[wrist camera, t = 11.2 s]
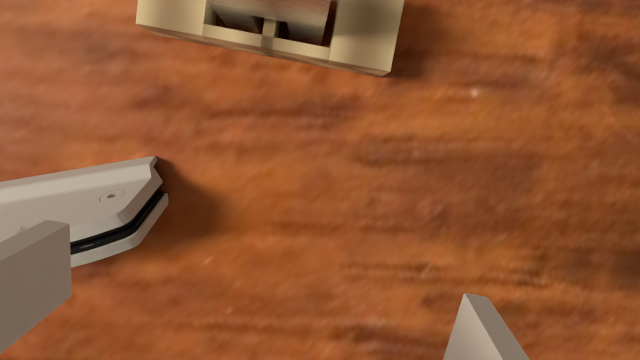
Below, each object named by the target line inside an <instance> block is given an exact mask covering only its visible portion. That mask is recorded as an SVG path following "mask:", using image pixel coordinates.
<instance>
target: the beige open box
mask: <svg viewBox="0 0 640 360" xmlns="http://www.w3.org/2000/svg"><path fill="white" fill-rule="evenodd" d="M331 2H335V3H337V7H336V12H335V18H334V24H333V30H332V36H331V42H330V47H329V48H327V47H322V46H317V45H311V44H306V43H301V42H296V41H291V40H286V39H280V38H278V37H279V31H280V24H281V21H277V20H272V19H267V18H265V19H264V26H263V33H262V35H260V34H254V33H249V32H244V31H239V30H234V29H228V28H223V27H218V26H216V20H217V13H216V12H215V11H214V9H213V8H212V7H211V6H210V4H209V3H208V2H207V0H138V6H137V16H136V24H138V25H140V26H141V27H143V28H145V29H146V30H148V31H150V32H151V33H153V34H155V35H159V36H165V37H170V38H175V39H180V40H186V41H191V42H196V43H202V44H207V45H212V46H218V47H223V48H228V49H233V50H239V51H244V52H249V53H255V54H260V55H265V56H271V57H276V58H281V59H286V60H292V61H297V62H302V63H308V64H313V65H318V66H324V67H329V68H334V69H339V70H345V71H350V72H355V73H361V74H366V75H371V76H377V77H382V76H384V75H386V74H387V73H389V72H390V71H391V66H392V60H393V55H394V50H395V45H396V40H397V35H398V30H399V25H400V20H401V15H402V10H403V5H404V0H331Z"/></svg>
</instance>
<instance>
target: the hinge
mask: <svg viewBox="0 0 640 360" xmlns="http://www.w3.org/2000/svg"><path fill="white" fill-rule="evenodd" d="M156 162H157V158H156V156H150V157H144V158H139V159H133V160H127V161H121V162H115V163H109V164H103V165H98V166H92V167H86V168H80V169H74V170H68V171H62V172H57V173H51V174H45V175H39V176H33V177H27V178H21V179H15V180H10V181H4V182H0V242H2V241H4V240H6V239H8V238H10V237H12V236H14V235H16V234H18V233H20V232H22V231H24V230H26V229H28V228H31V227H33V226H35V225H37V224H39V223H41V222H43V221H45V220H51V221H57V222H63V223H69V224H70V256H71V267H75V266H79V265H83V264H87V263H90V262H94V261H97V260H100V259H103V258H106V257H109V256H112V255H115V254H118V253H121V252H123V251H126V250H129V249H132V248H134V247H135V246H137V245H138V244H140V243H141V242H142V240H143V239H144V237H145V236H146V235H147V233H148V232H149V230H150V229H151V228H152V226H153V225H154V223H155V222H156V221H157V219H158V218H159V216H160V215H161V214H162V212H163V211H164V209H165V208H166V207H167V205H168V203H169V199H168V193H164V194H163V192H162V191H161V192H157V191H158V190H159V189H160V188H161V187H160V185H161V184H162V182H163V181H162V179H161V178H160V176H159V175H158V173H157V172H156V170H155V169H154V167H153V166H154V165H155V163H156Z"/></svg>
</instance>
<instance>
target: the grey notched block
mask: <svg viewBox="0 0 640 360" xmlns="http://www.w3.org/2000/svg"><path fill="white" fill-rule="evenodd" d="M207 2H208V3H209V4H210V6H211V7H212V8H213V9H214V11H215V12H216V13H217V14H218V16H219V17H220V18H221V19H222V21H223V22H224V23H225V25H226V26H227V27H229V28H234V29H239V30H244V31H249V32H254V33H259V30H260V23H261V17H262V18H267V19H272V20H277V21H282V22H287V23H288V30H289V36H290V39H291V40H296V41H301V42H306V43H311V44H316V45H321V42H322V37H323V33H324V28H325V24H326V20H327V15H328V11H329V6H330V2H331V0H207Z"/></svg>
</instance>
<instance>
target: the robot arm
mask: <svg viewBox="0 0 640 360" xmlns="http://www.w3.org/2000/svg"><path fill="white" fill-rule="evenodd" d="M71 296H72V291H71V256H70V224H69V223H63V222H57V221H51V220H45V221H43V222H41V223H39V224H37V225H35V226H33V227H31V228H28V229H26V230H24V231H22V232H20V233H18V234H16V235H14V236H12V237H10V238H8V239H6V240H4V241H2V242H0V354H1V353H2V352H3V351H5V350H6V349H7V348H8V347H10V346H11V345H12V344H13V343H14V342H16V341H17V340H18V339H19V338H21V337H22V336H23V335H24V334H25V333H27V332H28V331H29V330H30V329H32V328H33V327H34V326H35V325H37V324H38V323H39V322H40V321H41V320H43V319H44V318H45V317H46V316H48V315H49V314H50V313H51V312H52V311H54V310H55V309H56V308H57V307H59V306H60V305H61V304H62V303H64V302H65V301H66V300H67V299H68V298H70V297H71ZM443 360H530V359H529V358H528V356H527V355H526V354H525V352H524V351H523V349H522V348H521V346H520V345H519V343H518V342H517V340H516V339H515V337H514V336H513V334H512V333H511V331H510V330H509V328H508V327H507V325H506V324H505V322H504V321H503V319H502V318H501V316H500V315H499V313H498V312H497V310H496V309H495V307H494V306H493V304H492V303H491V301H490V300H489V298H488V297H485V296H479V295H473V294H468V293H464V296H463V299H462V302H461V305H460V308H459V311H458V314H457V318H456V321H455V324H454V327H453V330H452V333H451V337H450V340H449V343H448V346H447V349H446V352H445V356H444V359H443Z"/></svg>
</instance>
